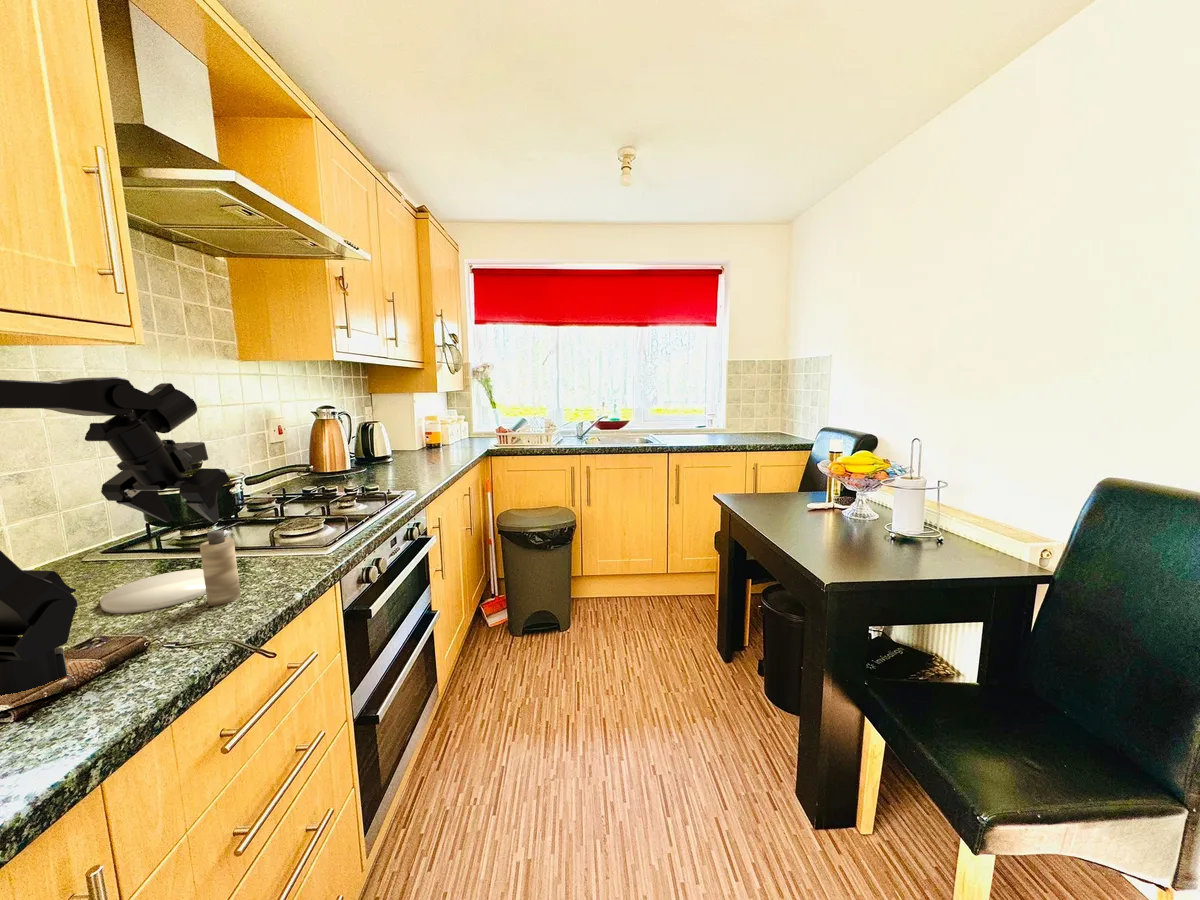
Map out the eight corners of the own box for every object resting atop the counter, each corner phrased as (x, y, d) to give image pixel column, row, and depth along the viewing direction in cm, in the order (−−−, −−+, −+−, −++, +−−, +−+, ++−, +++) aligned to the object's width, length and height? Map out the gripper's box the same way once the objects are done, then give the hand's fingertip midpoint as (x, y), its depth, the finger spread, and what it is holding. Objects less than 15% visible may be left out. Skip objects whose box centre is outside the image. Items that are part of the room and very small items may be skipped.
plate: (104, 623, 85) (102, 616, 85) (98, 594, 97) (97, 588, 97) (232, 589, 98) (231, 584, 98) (213, 567, 110) (212, 562, 110)
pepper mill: (210, 607, 90) (201, 538, 89) (205, 599, 94) (195, 532, 92) (243, 598, 94) (235, 531, 92) (237, 591, 97) (229, 526, 96)
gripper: (228, 422, 86) (269, 491, 95) (131, 423, 88) (180, 491, 97) (179, 460, 77) (228, 533, 86) (71, 461, 79) (131, 532, 88)
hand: (192, 520), depth 89 cm, fingers open, 9 cm apart
